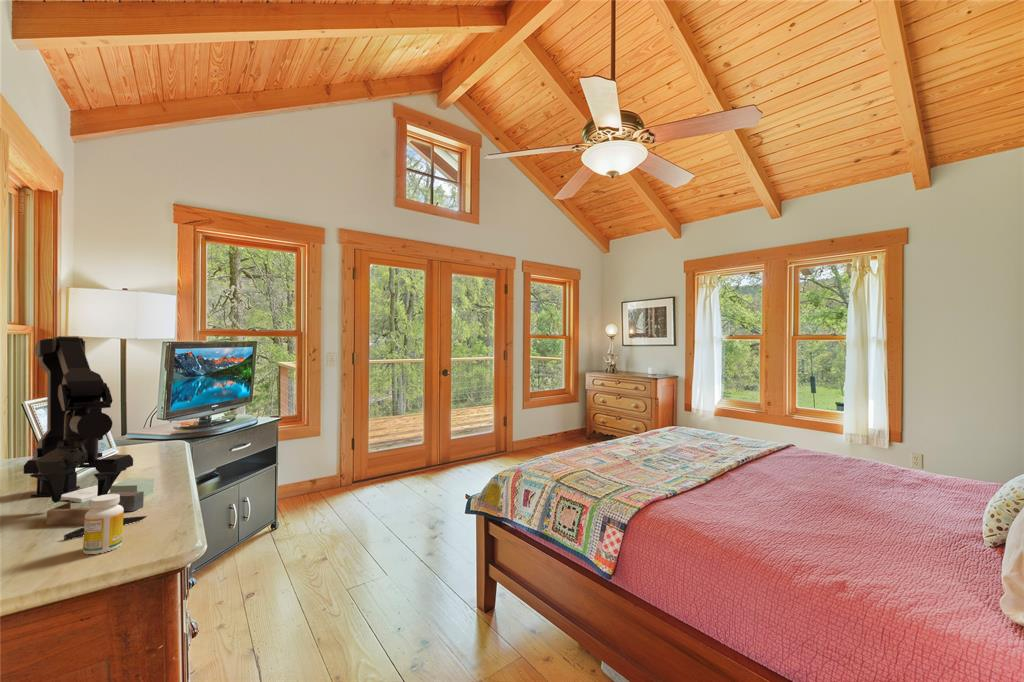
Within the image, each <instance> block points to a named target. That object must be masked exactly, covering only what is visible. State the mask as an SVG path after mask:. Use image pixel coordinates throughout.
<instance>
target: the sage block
mask: <svg viewBox="0 0 1024 682" xmlns="http://www.w3.org/2000/svg"><path fill="white" fill-rule="evenodd" d="M118 482H119V483H116V484H114V485H112V486H111V488H110V492H144V498H146V497H148V496H150V495H152V494H151V493H153V494H154V493H155V492H154V491H155V489H154V487H155V485H154V484H155V477H149V478H148V477H147V478H140V477H139V478H127V479H124V480H122V481H118ZM149 494H150V495H149ZM147 495H148V496H147ZM145 496H146V497H145Z"/></svg>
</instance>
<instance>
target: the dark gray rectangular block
mask: <svg viewBox="0 0 1024 682" xmlns="http://www.w3.org/2000/svg"><path fill="white" fill-rule="evenodd" d="M108 494H119V495H120V501H119V503H118V504H117V505H121V506H122V507H123V508H124V512H135V511H136V510H140V509H141V508H143V507H144V498H145V497H144V492H110V493H108ZM105 495H106V494H105Z"/></svg>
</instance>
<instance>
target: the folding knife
mask: <svg viewBox="0 0 1024 682" xmlns="http://www.w3.org/2000/svg"><path fill="white" fill-rule="evenodd" d="M147 517H148V515H142V516H130V517H123V525H124V526H126V525H125V524H128V525H130V524H129V523H132V524H134V523H133V522H136V523H138V522H137V521H139V522H141V521H143V520H144V519H146V518H147ZM140 520H141V521H140ZM83 535H84V527H81V528H77V529H75V530H73V531H70V532H68V533H65V534H64V536H63V539H64V540H63V541H65V540H66V541H68V540H69V539H70V540H73V539H72V538H74V539H76V538H75V537H78V538H80V537H81V536H82V537H84V536H83ZM79 536H80V537H79Z"/></svg>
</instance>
